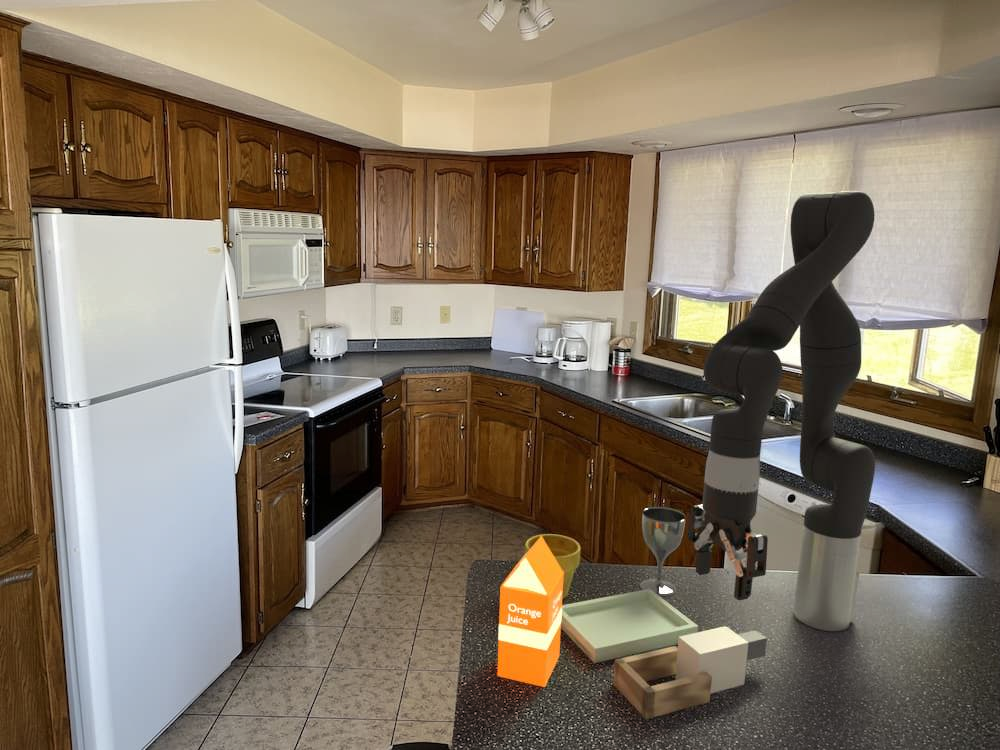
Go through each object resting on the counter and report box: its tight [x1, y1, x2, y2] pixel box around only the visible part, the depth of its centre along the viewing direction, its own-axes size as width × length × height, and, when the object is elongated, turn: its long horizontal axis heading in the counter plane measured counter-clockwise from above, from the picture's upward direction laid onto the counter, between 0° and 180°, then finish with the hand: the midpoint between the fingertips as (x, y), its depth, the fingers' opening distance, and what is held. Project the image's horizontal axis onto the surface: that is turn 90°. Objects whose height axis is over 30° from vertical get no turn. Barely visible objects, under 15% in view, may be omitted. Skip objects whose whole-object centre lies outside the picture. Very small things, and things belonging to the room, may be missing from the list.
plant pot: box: [524, 533, 582, 600], centre depth 133 cm, size 10×10×10 cm
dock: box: [612, 645, 712, 720], centre depth 104 cm, size 11×9×4 cm
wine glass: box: [639, 506, 686, 597], centre depth 136 cm, size 8×8×15 cm
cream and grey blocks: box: [674, 625, 768, 695], centre depth 108 cm, size 14×5×7 cm, turn 113°
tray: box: [561, 589, 699, 664], centre depth 121 cm, size 20×14×2 cm
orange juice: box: [496, 536, 564, 688], centre depth 108 cm, size 8×9×20 cm
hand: (721, 585), depth 106 cm, fingers open, 8 cm apart
